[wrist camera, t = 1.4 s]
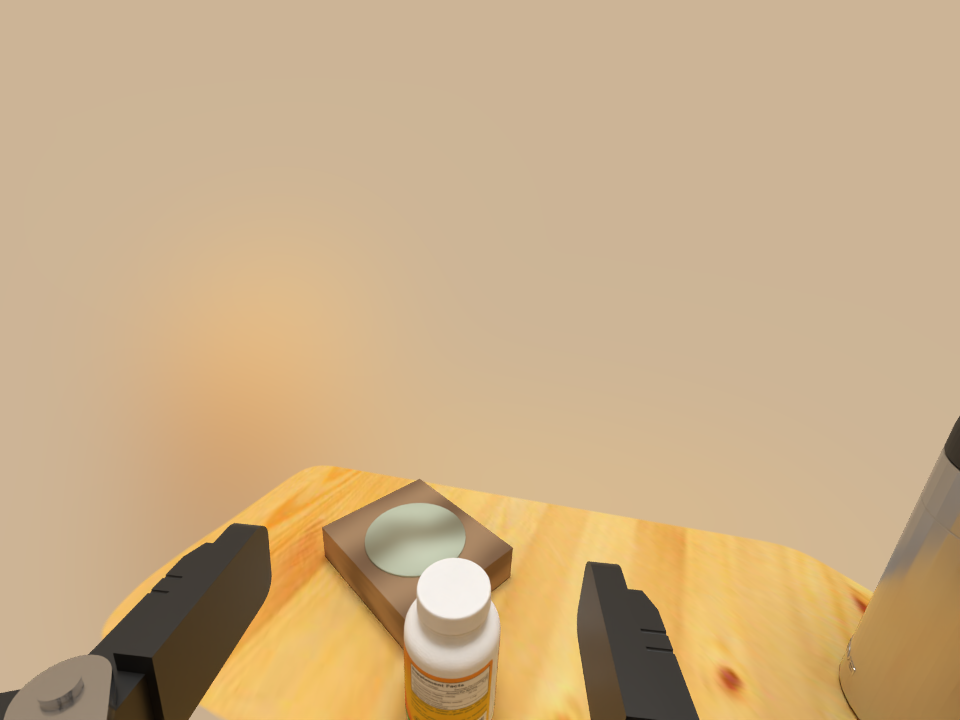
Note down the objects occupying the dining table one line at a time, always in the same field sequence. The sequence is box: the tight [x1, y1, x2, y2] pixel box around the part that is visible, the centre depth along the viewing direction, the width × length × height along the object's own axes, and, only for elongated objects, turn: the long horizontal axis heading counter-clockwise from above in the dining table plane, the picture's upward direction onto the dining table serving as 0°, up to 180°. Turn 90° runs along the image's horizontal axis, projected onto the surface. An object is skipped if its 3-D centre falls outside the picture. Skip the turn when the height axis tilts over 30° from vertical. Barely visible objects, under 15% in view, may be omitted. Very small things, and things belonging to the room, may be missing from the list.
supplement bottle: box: [404, 558, 500, 720], centre depth 26 cm, size 5×5×10 cm
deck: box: [322, 479, 513, 649], centre depth 37 cm, size 12×10×3 cm
